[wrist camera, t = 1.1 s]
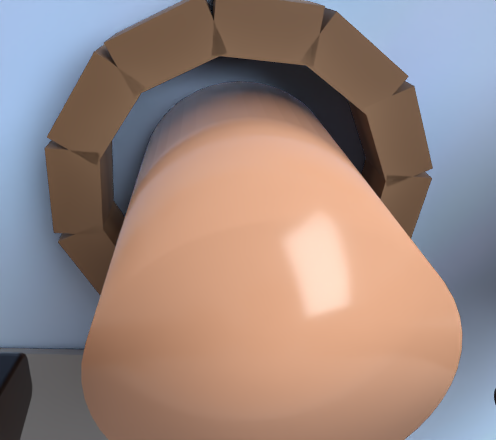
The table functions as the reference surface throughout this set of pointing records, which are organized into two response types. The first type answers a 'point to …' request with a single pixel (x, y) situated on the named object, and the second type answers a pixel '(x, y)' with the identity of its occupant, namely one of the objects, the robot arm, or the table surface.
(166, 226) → the peach rounded piece
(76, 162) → the collar
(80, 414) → the mat
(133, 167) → the table surface
